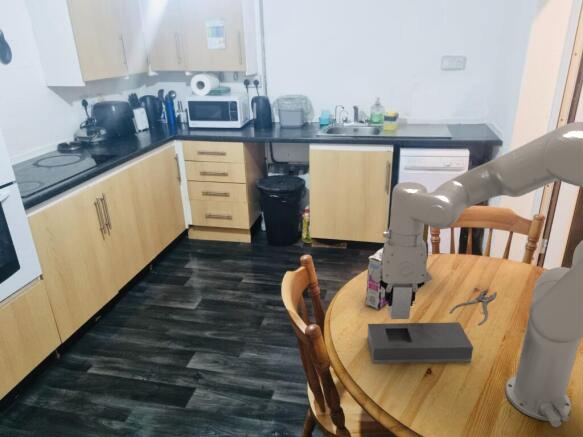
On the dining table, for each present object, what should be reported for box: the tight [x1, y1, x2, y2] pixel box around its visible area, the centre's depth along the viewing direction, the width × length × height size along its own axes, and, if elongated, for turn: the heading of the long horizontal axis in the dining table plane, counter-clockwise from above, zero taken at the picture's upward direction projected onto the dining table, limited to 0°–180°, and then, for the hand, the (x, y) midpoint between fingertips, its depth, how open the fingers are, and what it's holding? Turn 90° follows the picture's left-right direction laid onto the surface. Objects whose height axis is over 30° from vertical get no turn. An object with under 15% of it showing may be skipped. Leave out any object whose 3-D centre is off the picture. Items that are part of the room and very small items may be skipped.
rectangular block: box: [366, 321, 474, 364], centre depth 111 cm, size 10×24×4 cm, turn 89°
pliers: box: [449, 288, 498, 326], centre depth 130 cm, size 10×1×20 cm
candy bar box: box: [365, 246, 388, 311], centre depth 130 cm, size 11×5×16 cm, turn 141°
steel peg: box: [387, 284, 412, 320], centre depth 106 cm, size 4×4×9 cm
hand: (399, 302), depth 107 cm, fingers closed on steel peg, 4 cm apart
